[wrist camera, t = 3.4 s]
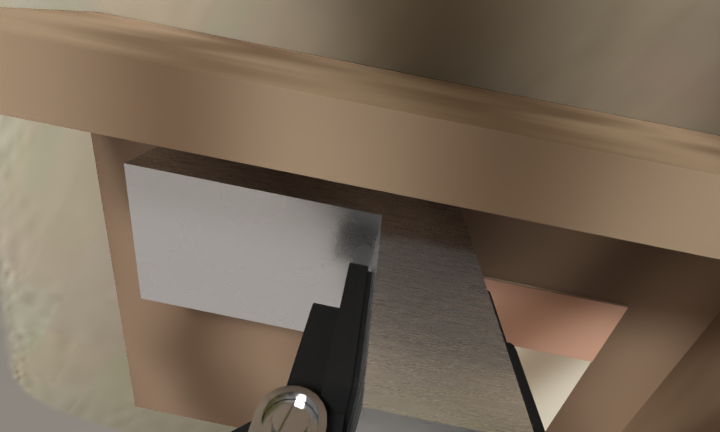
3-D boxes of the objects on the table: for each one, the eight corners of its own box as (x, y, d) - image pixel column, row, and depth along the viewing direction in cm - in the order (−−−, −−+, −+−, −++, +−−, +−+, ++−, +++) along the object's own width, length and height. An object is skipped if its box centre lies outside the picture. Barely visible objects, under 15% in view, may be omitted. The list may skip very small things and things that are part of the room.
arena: (855, 162, 12) (1245, 280, 6) (589, 480, 20) (658, 647, 14) (95, 11, 12) (-159, -1, 6) (147, 389, 20) (55, 520, 15)
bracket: (459, 203, 12) (538, 443, 5) (421, 316, 15) (440, 589, 8) (163, 143, 12) (-155, 300, 5) (172, 265, 15) (-42, 488, 8)
